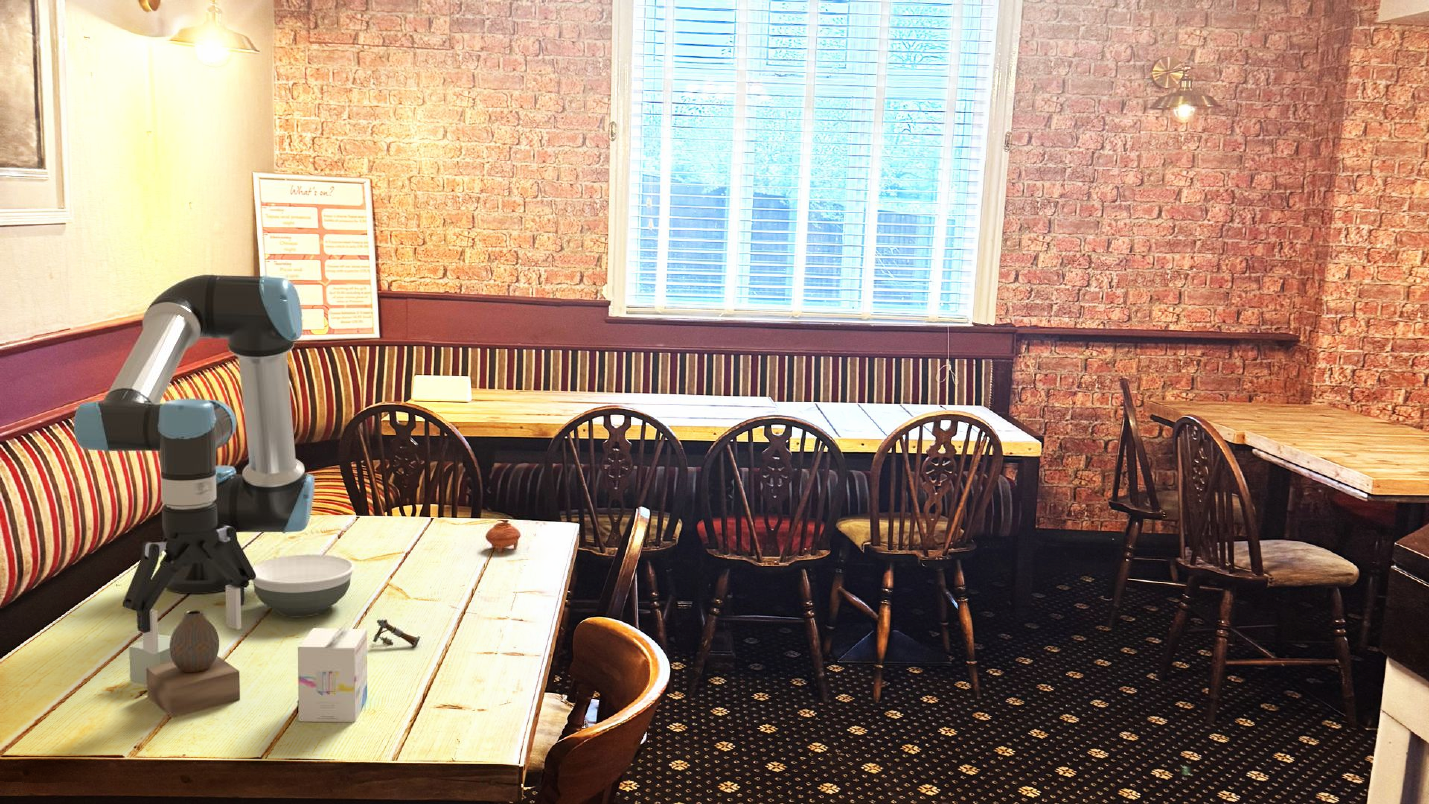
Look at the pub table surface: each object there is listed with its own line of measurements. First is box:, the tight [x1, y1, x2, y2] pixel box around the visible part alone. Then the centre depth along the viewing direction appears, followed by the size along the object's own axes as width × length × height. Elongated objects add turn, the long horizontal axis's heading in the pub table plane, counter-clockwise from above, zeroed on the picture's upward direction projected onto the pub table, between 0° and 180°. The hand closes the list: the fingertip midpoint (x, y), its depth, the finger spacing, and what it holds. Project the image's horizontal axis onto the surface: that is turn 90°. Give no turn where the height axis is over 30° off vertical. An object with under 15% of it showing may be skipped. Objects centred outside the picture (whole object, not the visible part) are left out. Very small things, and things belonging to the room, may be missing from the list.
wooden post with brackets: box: [372, 618, 421, 649], centre depth 200 cm, size 2×8×4 cm, turn 85°
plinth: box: [146, 655, 241, 718], centre depth 174 cm, size 10×10×5 cm
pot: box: [485, 521, 522, 554], centre depth 262 cm, size 8×8×7 cm
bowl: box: [251, 554, 355, 618], centre depth 216 cm, size 19×19×8 cm
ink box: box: [297, 618, 368, 723], centre depth 171 cm, size 9×8×13 cm
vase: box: [170, 609, 220, 672], centre depth 174 cm, size 7×7×9 cm
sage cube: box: [128, 633, 173, 687], centre depth 181 cm, size 6×6×6 cm
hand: (193, 639), depth 174 cm, fingers open, 13 cm apart
